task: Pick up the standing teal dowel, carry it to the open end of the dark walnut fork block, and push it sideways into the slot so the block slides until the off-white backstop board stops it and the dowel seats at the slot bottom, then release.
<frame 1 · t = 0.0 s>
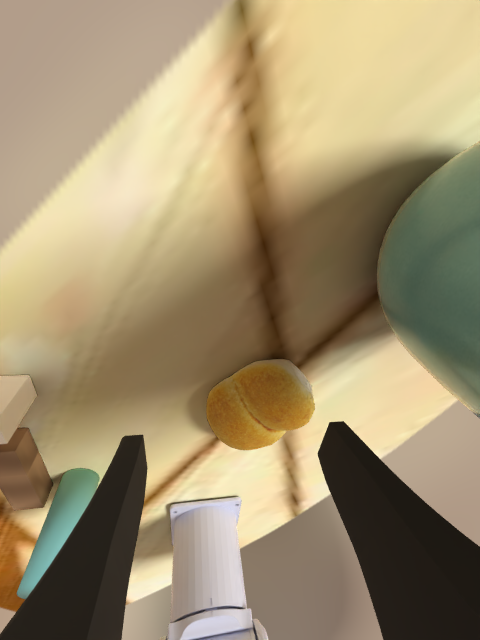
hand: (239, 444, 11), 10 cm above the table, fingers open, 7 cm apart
bread roll: (258, 391, 24), on the table
dowel: (81, 478, 26), on the table
vase: (439, 238, 19), on the table
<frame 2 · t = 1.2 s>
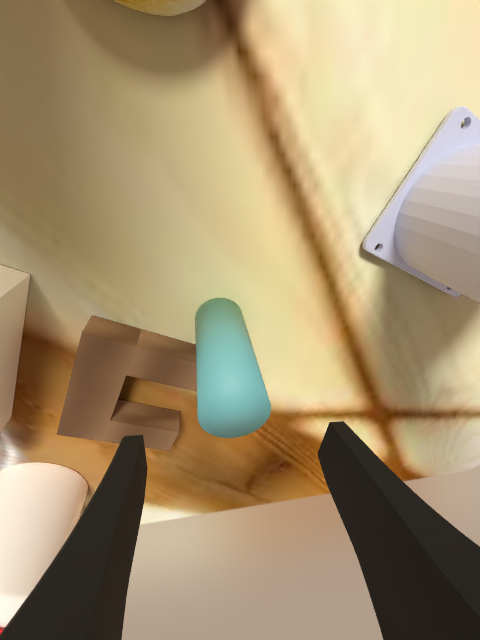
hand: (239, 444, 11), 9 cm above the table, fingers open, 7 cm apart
dowel: (219, 319, 19), on the table
backstop board: (1, 351, 18), on the table
block: (135, 391, 20), point 1 cm above the table, slide at 0.0 cm
pill bottle: (42, 485, 25), on the table
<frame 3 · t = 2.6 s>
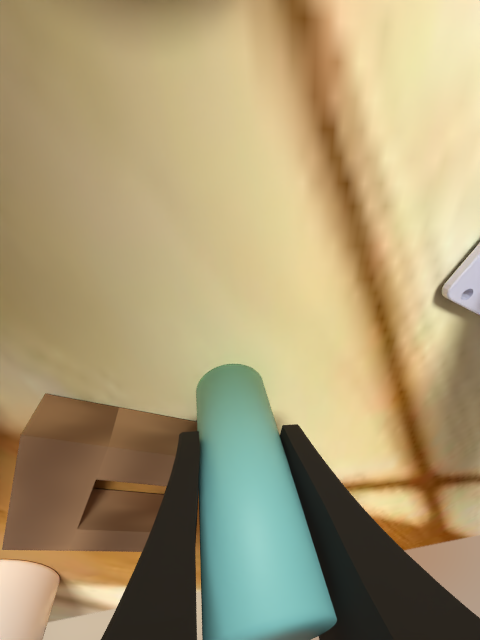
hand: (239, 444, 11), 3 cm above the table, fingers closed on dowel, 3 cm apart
dowel: (230, 389, 13), on the table, touching gripper
block: (113, 486, 14), point 1 cm above the table, slide at 0.0 cm
pill bottle: (0, 579, 20), on the table
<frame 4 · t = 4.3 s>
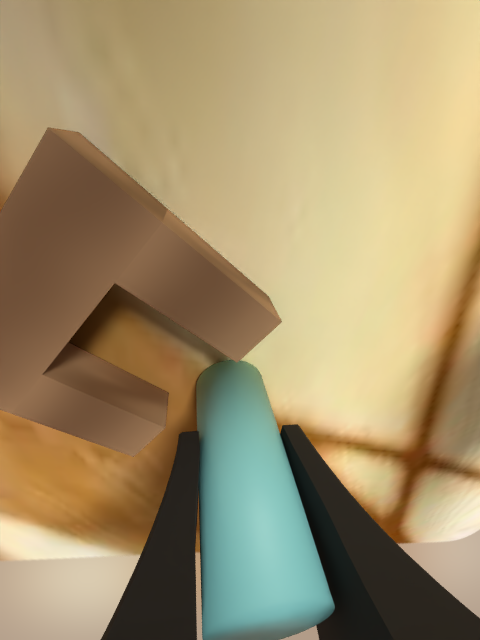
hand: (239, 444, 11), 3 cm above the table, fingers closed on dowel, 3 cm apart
dowel: (229, 386, 13), on the table, touching gripper
block: (112, 331, 10), point 1 cm above the table, slide at 0.0 cm
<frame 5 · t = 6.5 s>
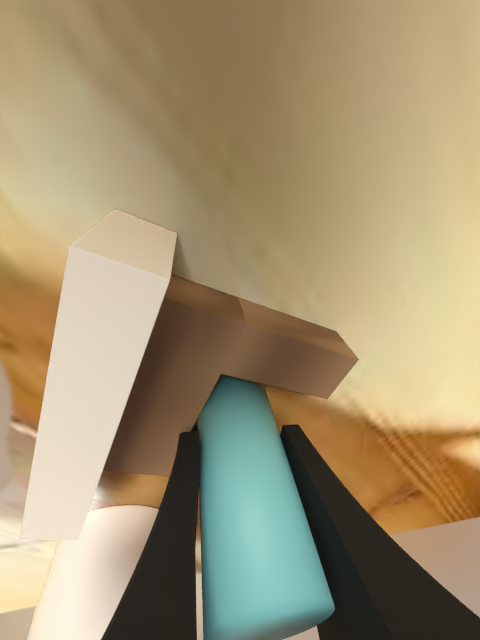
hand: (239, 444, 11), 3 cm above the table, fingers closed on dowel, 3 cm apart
dowel: (230, 387, 13), on the table, touching block, gripper
backstop board: (108, 358, 12), on the table
block: (220, 399, 12), point 1 cm above the table, slide at 3.5 cm, touching backstop board, dowel
pill bottle: (123, 530, 19), on the table
when the fingers open (3 cm above the table, at t = 7.7 s): dowel stays where it is, on the table.
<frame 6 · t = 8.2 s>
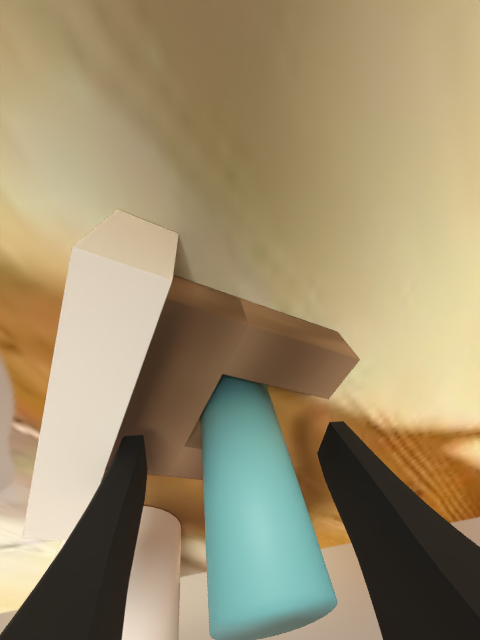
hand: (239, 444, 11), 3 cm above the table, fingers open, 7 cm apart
dowel: (232, 386, 14), on the table
backstop board: (110, 358, 12), on the table
block: (221, 399, 12), point 1 cm above the table, slide at 3.5 cm, touching backstop board
pill bottle: (125, 530, 20), on the table
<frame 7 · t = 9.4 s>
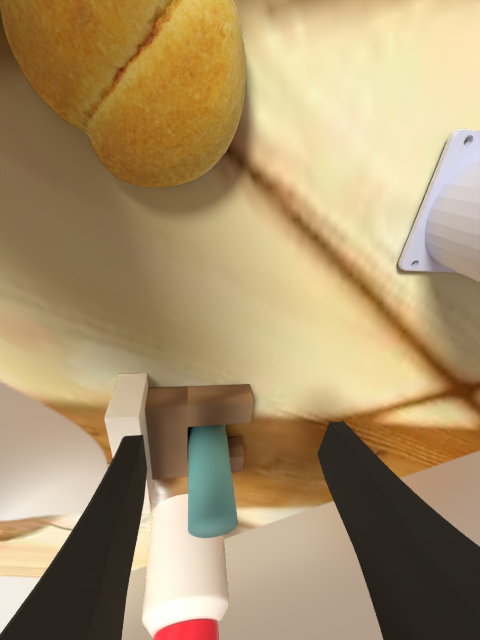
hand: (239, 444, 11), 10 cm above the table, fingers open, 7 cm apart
bread roll: (142, 70, 12), on the table
dowel: (206, 423, 25), on the table
backstop board: (139, 427, 24), on the table
block: (199, 433, 24), point 1 cm above the table, slide at 3.5 cm, touching backstop board
pill bottle: (187, 509, 32), on the table
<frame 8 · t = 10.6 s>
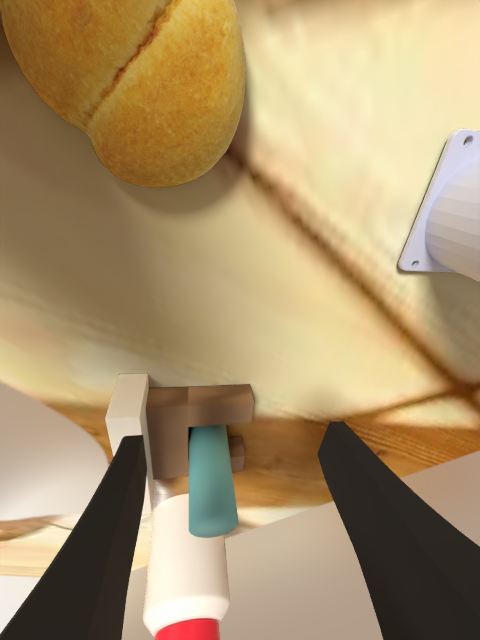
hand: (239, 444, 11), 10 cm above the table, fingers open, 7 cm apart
bread roll: (142, 70, 12), on the table
dowel: (207, 423, 25), on the table
backstop board: (140, 427, 24), on the table
block: (200, 433, 24), point 1 cm above the table, slide at 3.5 cm, touching backstop board
pill bottle: (188, 509, 32), on the table
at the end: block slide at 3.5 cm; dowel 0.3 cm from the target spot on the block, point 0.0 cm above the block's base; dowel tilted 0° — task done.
